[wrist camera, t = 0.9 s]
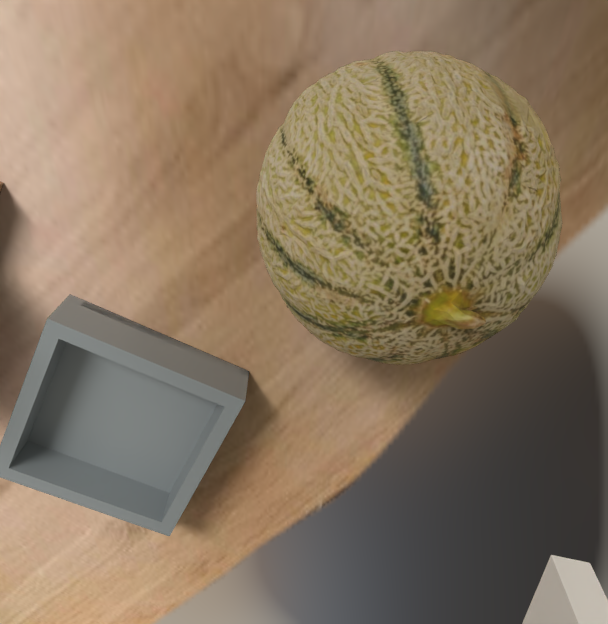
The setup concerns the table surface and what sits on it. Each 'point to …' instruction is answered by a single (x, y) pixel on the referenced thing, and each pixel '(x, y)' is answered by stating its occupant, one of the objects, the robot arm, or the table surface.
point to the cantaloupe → (409, 207)
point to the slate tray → (119, 416)
